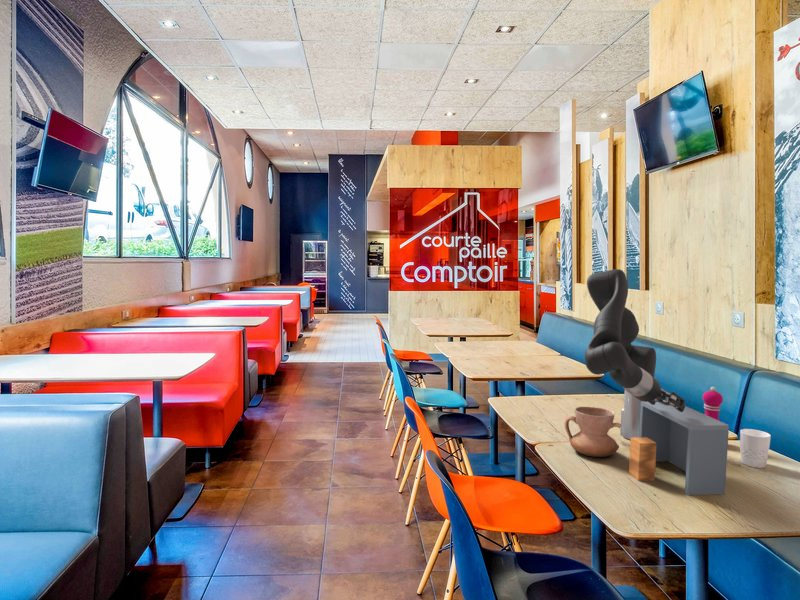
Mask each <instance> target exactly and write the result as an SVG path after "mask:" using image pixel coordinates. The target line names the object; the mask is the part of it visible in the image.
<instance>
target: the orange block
mask: <svg viewBox="0 0 800 600" xmlns="http://www.w3.org/2000/svg"><path fill="white" fill-rule="evenodd" d="M656 462H657V461H656V443H655V442H654V441H652V440H650V439H649V438H647V437H631V440H630V444H629V462H628V463H629V464H628V466H629V468H628V474H629V475H630V477H631V476H632V477H633V478H634V479H635V480H637V481H642V482H643V481H655V476H656Z"/></svg>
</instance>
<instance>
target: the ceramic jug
mask: <svg viewBox="0 0 800 600" xmlns="http://www.w3.org/2000/svg"><path fill="white" fill-rule="evenodd" d="M574 414H575V416H574V415H569V416H567V417H566V418H564V424H563V425H564V429H565V432H566V434H567V436H568V441H569V442H570V446H571V447H572V449H573V450H575V451H577V452H578V453H579V454H582V455H585V456H587V457H592V458H605V457H609V456H611V455H614V454H615V453H616V452H617V451H618V450H619V449H620V445H619V444H618V442H617V441H616V440H615V439H614V438H613V437H611V435H609V434H608V433H609V431H610V430H611V429H613V428H618V429H620V428H621V426H622V425H621V422H620V423H619V422H614V419H615V412H614V411H613V410H611V409H607V408H604V407H595V406H593V407H592V406H577V407H575V408H574ZM570 421H572V422H574V423H575V424H576V425H578V427H579V430H580V431H578V432H577V433H575V434H574V435H572V433H571V429H570V425H569V424H570Z"/></svg>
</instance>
